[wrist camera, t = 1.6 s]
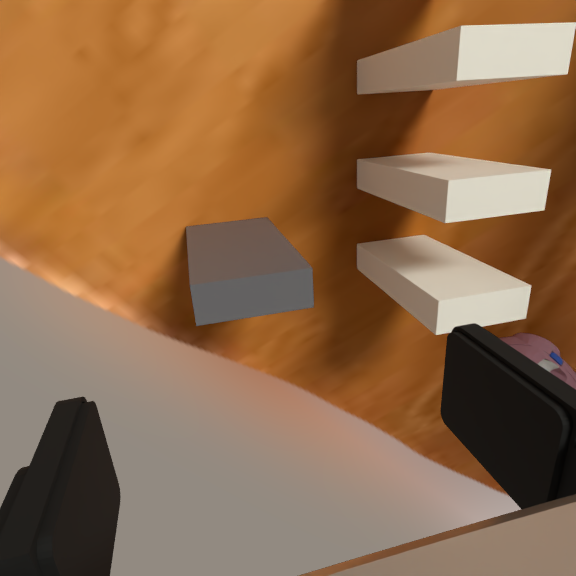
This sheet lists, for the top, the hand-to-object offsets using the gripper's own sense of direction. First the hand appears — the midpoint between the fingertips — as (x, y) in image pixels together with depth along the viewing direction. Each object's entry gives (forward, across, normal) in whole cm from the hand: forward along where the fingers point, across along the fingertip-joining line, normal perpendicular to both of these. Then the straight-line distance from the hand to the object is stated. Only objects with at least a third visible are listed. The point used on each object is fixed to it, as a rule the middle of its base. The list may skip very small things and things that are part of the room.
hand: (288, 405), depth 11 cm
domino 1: (+17, 0, 0) cm, 17 cm away
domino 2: (+17, -12, -9) cm, 22 cm away
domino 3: (+17, -12, -3) cm, 21 cm away
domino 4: (+17, -12, +2) cm, 21 cm away
